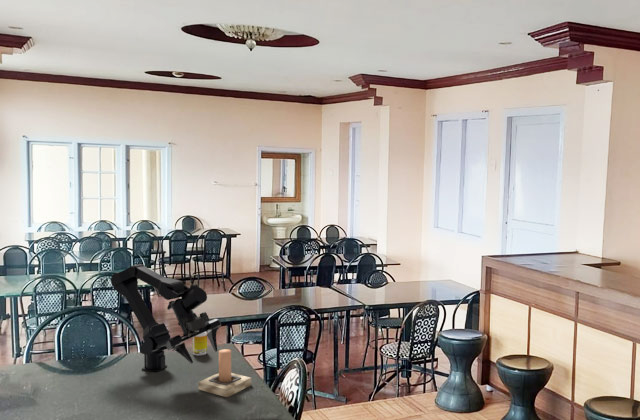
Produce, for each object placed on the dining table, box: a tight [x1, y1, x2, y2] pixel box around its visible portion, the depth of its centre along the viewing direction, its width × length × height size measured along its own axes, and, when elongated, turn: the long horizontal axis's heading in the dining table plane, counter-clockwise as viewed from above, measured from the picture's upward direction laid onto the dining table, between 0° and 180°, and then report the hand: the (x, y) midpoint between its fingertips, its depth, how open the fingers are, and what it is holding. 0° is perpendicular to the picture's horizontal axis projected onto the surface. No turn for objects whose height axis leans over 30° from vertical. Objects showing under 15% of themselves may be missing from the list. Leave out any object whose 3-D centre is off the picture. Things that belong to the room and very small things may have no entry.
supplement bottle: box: [191, 331, 208, 356], centre depth 221 cm, size 6×6×10 cm
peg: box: [218, 348, 232, 383], centre depth 187 cm, size 4×4×12 cm
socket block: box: [198, 372, 252, 398], centre depth 187 cm, size 12×12×3 cm
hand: (204, 357), depth 192 cm, fingers open, 9 cm apart
